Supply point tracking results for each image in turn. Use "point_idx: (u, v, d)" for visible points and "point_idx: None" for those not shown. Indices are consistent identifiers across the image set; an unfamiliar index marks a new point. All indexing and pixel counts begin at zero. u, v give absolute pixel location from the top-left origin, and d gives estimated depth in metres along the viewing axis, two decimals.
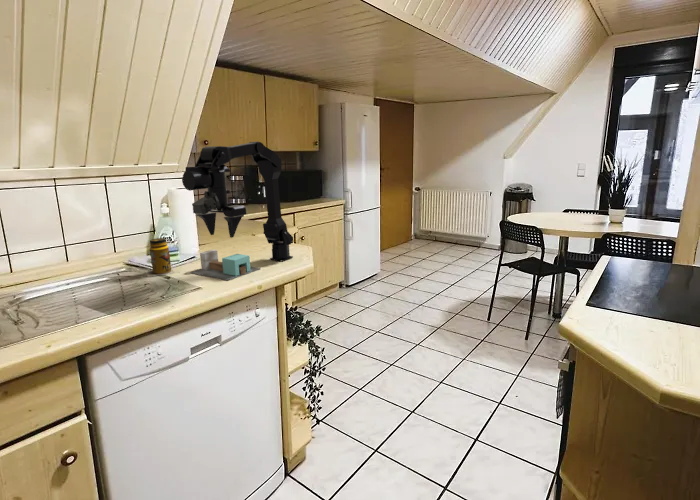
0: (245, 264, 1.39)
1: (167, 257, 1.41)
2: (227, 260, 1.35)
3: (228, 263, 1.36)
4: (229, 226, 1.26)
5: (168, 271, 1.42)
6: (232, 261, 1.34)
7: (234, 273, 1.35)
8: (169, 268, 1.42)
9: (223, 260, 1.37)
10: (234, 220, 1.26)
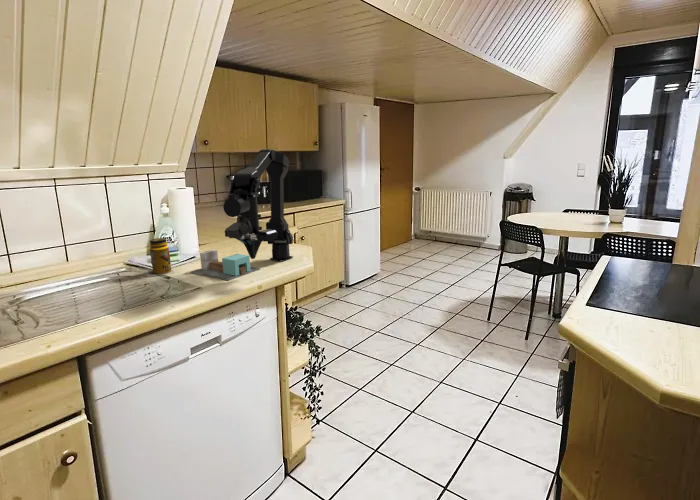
0: (245, 264, 1.39)
1: (167, 257, 1.41)
2: (227, 260, 1.35)
3: (228, 263, 1.36)
4: (251, 248, 1.31)
5: (168, 271, 1.42)
6: (232, 261, 1.34)
7: (234, 273, 1.35)
8: (169, 268, 1.42)
9: (223, 260, 1.37)
10: (255, 242, 1.32)
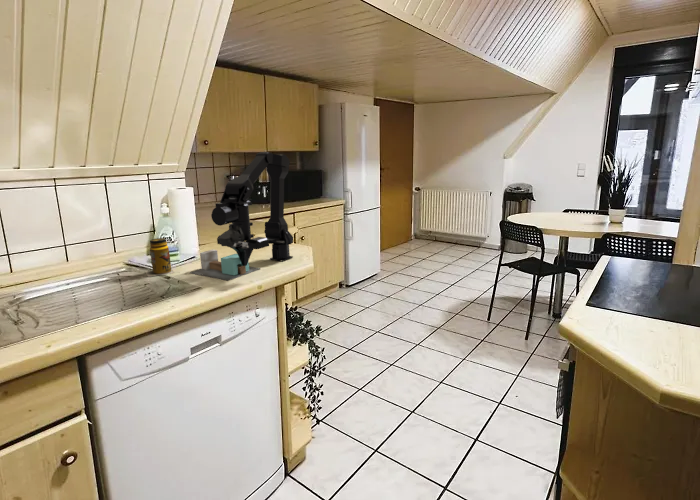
0: None
1: (167, 257, 1.41)
2: (226, 260, 1.36)
3: (227, 263, 1.36)
4: (243, 256, 1.34)
5: (168, 271, 1.42)
6: (231, 261, 1.35)
7: (233, 273, 1.35)
8: (169, 268, 1.42)
9: (222, 260, 1.37)
10: (247, 249, 1.35)
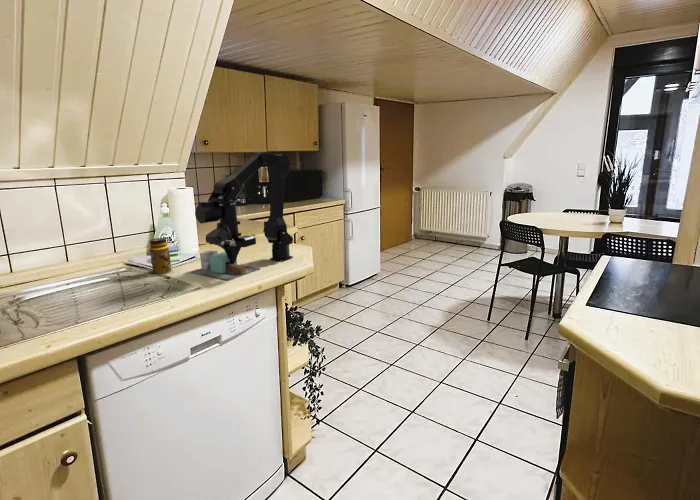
0: None
1: (167, 257, 1.41)
2: (214, 258, 1.39)
3: (215, 261, 1.39)
4: (231, 254, 1.37)
5: (168, 271, 1.42)
6: (219, 259, 1.38)
7: (221, 270, 1.38)
8: (169, 268, 1.42)
9: (210, 258, 1.40)
10: (235, 247, 1.38)
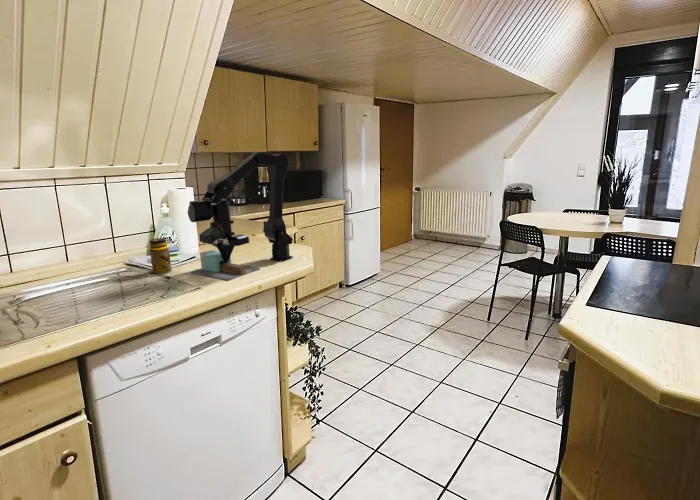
0: None
1: (167, 257, 1.41)
2: (208, 257, 1.40)
3: (209, 260, 1.40)
4: (224, 253, 1.39)
5: (168, 271, 1.42)
6: (213, 258, 1.39)
7: (215, 269, 1.40)
8: (169, 268, 1.42)
9: (204, 257, 1.41)
10: (228, 246, 1.40)
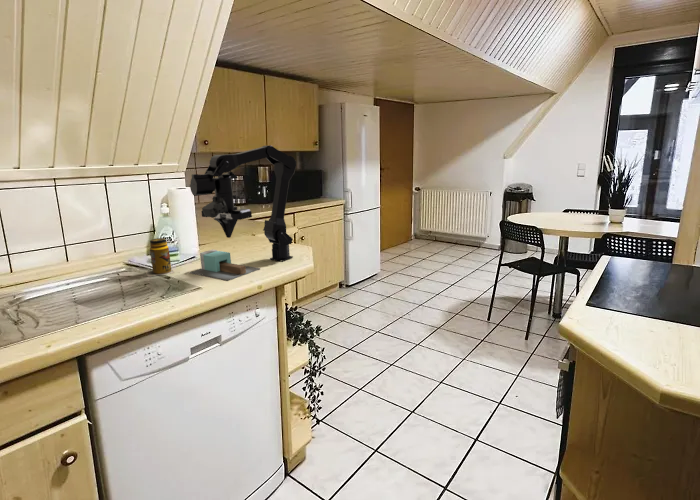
0: (226, 261, 1.44)
1: (167, 257, 1.41)
2: (208, 257, 1.40)
3: (209, 260, 1.40)
4: (227, 227, 1.39)
5: (168, 271, 1.42)
6: (213, 258, 1.39)
7: (215, 269, 1.40)
8: (169, 268, 1.42)
9: (204, 257, 1.41)
10: (231, 221, 1.39)
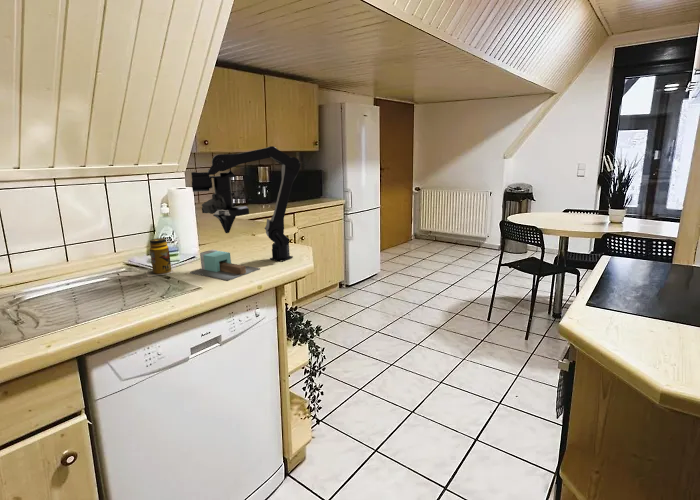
0: (226, 261, 1.44)
1: (167, 257, 1.41)
2: (208, 257, 1.40)
3: (209, 260, 1.40)
4: (225, 223, 1.45)
5: (168, 271, 1.42)
6: (213, 258, 1.39)
7: (215, 269, 1.40)
8: (169, 268, 1.42)
9: (204, 257, 1.41)
10: (229, 218, 1.46)
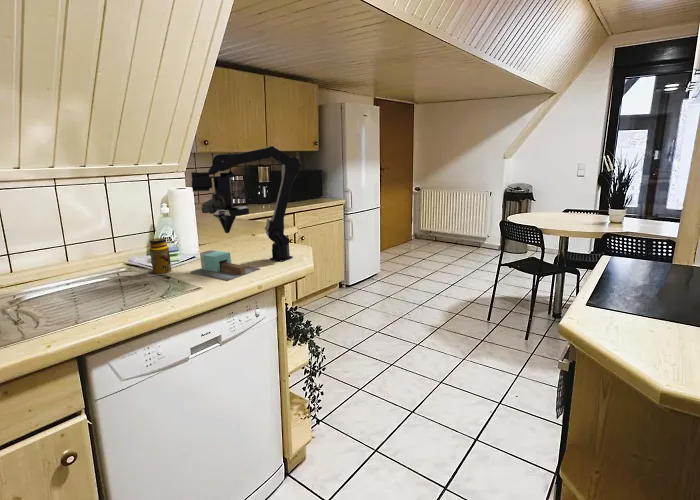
0: (226, 261, 1.44)
1: (167, 257, 1.41)
2: (208, 257, 1.40)
3: (209, 260, 1.40)
4: (225, 223, 1.45)
5: (168, 271, 1.42)
6: (213, 258, 1.39)
7: (215, 269, 1.40)
8: (169, 268, 1.42)
9: (204, 257, 1.41)
10: (229, 218, 1.46)
